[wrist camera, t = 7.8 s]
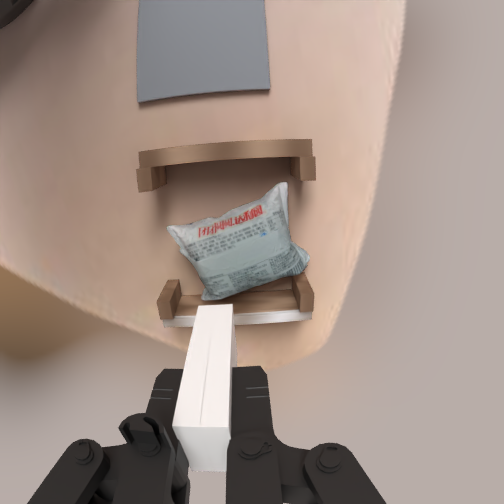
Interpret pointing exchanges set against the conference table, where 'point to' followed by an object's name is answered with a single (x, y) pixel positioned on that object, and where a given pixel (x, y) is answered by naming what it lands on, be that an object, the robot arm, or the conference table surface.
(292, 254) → the packaged food
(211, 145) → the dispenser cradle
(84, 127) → the conference table surface
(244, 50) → the slate mat
